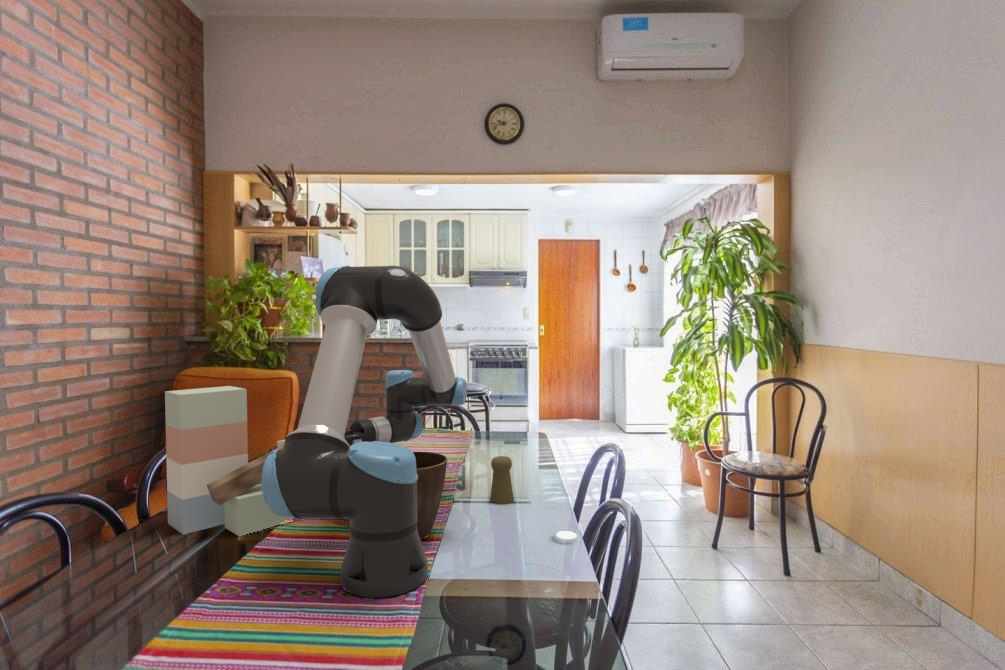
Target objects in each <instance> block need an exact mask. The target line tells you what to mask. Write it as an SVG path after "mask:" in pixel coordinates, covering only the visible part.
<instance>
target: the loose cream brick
mask: <svg viewBox="0 0 1005 670" xmlns="http://www.w3.org/2000/svg"><path fill="white" fill-rule="evenodd" d="M224 511H225V524H224V528H225V529H227V530H228V531H229V532H230V533H231V532H232V533H233V534H234V535H235V536H238V537H240V536H241V537H243V535H244V536H247V535H246V534H248V535H250V534H249V533H252V534H254V533H253V532H255V533H258V532H257V531H259V532H262V531H264V530H263V529H266V528H270V527H273V526H276V525H278V524H280V523H282V522H283V521H285V520H288V519H291V518H293V517H284V516H278V515H275V514H274V513H272V512H271V511H270V510H269V508H268V507H267V505H266V503H265V500H264V496H263V493H262V483H259V484H258V485H256V486H254V487H252V488H250V489H249V490H247V491H245V492H243V493H241V494H240V495H238V496H236V497H234V498H232V499H231V500H229V501H227V502H225V503H224ZM273 528H274V527H273ZM270 529H271V528H270ZM261 530H262V531H261ZM266 530H267V529H266Z"/></svg>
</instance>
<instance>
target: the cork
mask: <svg viewBox="0 0 1005 670" xmlns="http://www.w3.org/2000/svg"><path fill="white" fill-rule="evenodd" d="M490 465H491V466H490V467H491V468H492V470H493V473H492V479H491V480H492V481H491V488H490V496H489V501H490V503H492V504H495V505H507V504H511V503H513V502H514V501H515V499H514V493H513V485H512V477H511V469H512V465H513V462H512V459H511V457H509V456H507V455H506V456H505V455H498V456H495V457H493V458H492V460H491V462H490Z"/></svg>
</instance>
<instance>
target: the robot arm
mask: <svg viewBox="0 0 1005 670" xmlns="http://www.w3.org/2000/svg"><path fill="white" fill-rule="evenodd" d="M314 295H315V299H314V303H315V304H314V305H315V309H316V312H317V314H318V316H319V318H320V321H321V322H322V324H323V325H324V330H323V333H322V337H321V341H320V345H319V347H318V348H319V349H318V352H317V357H316V359H315V363H314V367H313V370H312V374H311V377H310V378H311V379H310V381H309V385H308V389H307V393H306V397H305V400H304V403H303V408H302V411H301V415H300V418H299V422H298V425H297V428H296V429H294V431H292V432H289V433H288V434H287V435H286V438H285V439H282V440H277V441H276V445H277V446H276V448H278V447H280V446H282V445H284V447H283V449H277V450H274V449H273V450H274V451H272V450H271V451H272V452H271V451H270V452H271V453H270V455H268V456H267V458H266V460H265V462H264V465H263V470H262V479H261V483H260V484H262V493H263V496H264V500H265V503H266V505H267V507H268V508H269V510H270V511H271V512H272V513H274V514H275V515H278V516H284V517H293V518H294V520H296V519H297V520H298V519H301V518H302V519H332V520H333V519H335V520H338V519H340V520H349V540H348V543H347V546H346V549H345V553H344V556H343V559H342V563H341V565H340V570H339V578H340V579H339V581H340V582H341V584H340V586H341V585H342V586H343V587H344V588H345V589H346V590H347V591H349V592H350V593H353V594H355V595H354V596H356V595H358V596H357V597H361V596H362V598H371V599H372V598H373V599H374V598H375V599H376V598H378V599H379V598H388V597H394V596H399V595H402V594H405V593H408V592H411V591H413V590H416V589H417V588H419V587H420V586H422V585H423V584H424V582H426V580H428V576H429V562H428V558H427V555H426V552H425V548H424V546H423V543H422V539H421V540H420V537H419V534H418V530H417V480H418V474H417V470H416V458H415V455H414V453H413V452H414V451H412V449H410V448H407V447H406V446H404V445H401V444H397V443H401V442H407V441H411V440H414V439H417V438H419V437H420V436H421V434H422V433H423V429H424V423H423V421H422V417H421V415H420V414H419V413H418V412H416V411H415V408H414V407H415V406H442V407H443V406H444V407H445V406H446V407H454V406H463V405H464V404H465V403H466V401H467V397H468V396H467V395H468V388H467V386H468V385H467V381H466V379H465V378H463V377H458V376H456V374H455V372H454V371H455V370H454V367H453V364H452V361H451V357H450V353H449V349H448V344H447V342H446V338H445V335H444V331H443V328H442V324H441V323H442V322H441V320H442V318H443V310H442V306H441V303H440V301H439V298H438V296H437V295H436V293H435V291H434V290H433V289H432V287H431V286H430V285H429V283H427V281H425V280H424V278H422V277H421V276H420V275H418V274H417V273H415V272H414V271H412V270H410V269H408V268H405V267H404V266H403V267H402V266H400V265H376V266H374V265H372V266H370V265H369V266H350V265H342V266H339V267H331V268H328V269H326V270H325V271H324V272H323V273H322V274H321V276H320V277H319V279H318V281H317V284H316V287H315V292H314ZM380 320H381V321H382V320H398V321H400V323H401V325H402V327H403V328H404V329H405V330H406V331H408V332H409V335H410V339H411V341H412V344H413V347H414V349H415V353H416V355H417V357H418V358H417V359H418V360H419V363H420V366H421V369H422V372H423V375H424V377H420V376H418V377H415V375H414V372H413V371H412V370H410V369H408V370H407V369H398V370H397V369H395V370H389V371H388V372H386V374H385V386H384V390H385V393H384V394H385V395H384V397H385V416H383V415H382V416H377V417H376V416H375V417H371V418H370V417H369V418H365V419H357V420H354V421H353V422H352V423H351V425H350V427H349V429H348V428H347V425H348V422H349V421H348V420H349V417H350V412H351V408H352V403H353V399H354V394H355V389H356V385H357V380H358V376H359V372H360V367H361V363H362V358H363V354H364V349H365V345H366V340H367V337H368V336H369V335H371V334H373V333H374V332H375V331H376V329H377V325H378V324H377V323H378V321H380ZM340 582H339V583H340ZM350 593H349V594H350ZM353 594H352V595H353Z"/></svg>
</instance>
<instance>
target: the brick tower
mask: <svg viewBox="0 0 1005 670" xmlns="http://www.w3.org/2000/svg"><path fill="white" fill-rule="evenodd" d="M247 392H248V391H247V388H243V387H239V386H238V387H237V386H234V385H233V386H232V385H225V386H213V387H200V388H187V389H177V390H168V391H167V390H166V391H164V402H165V406H164V408H165V449H166V451H165V452H166V453H165V455H166V491H167V492H166V493H167V495H166V496H167V498H166V499H167V524H168V525H169V526H170V527H172V528H173V529H175V530H176V531H177V532H179V533H180V534H182V535H187V534H190V533H195V532H198V531H203V530H206V529H210V528H215V527H218V526H222V525H225V511H224V504H222V505H219V504H217V503H215V502H214V501H213V500H212V497H211V495H210V493H209V490H208V488H207V484H209V483H211V482H213V481H215V480H217V479H219V478H221V477H223V476H225V475H227V474H228V473H230V472H232V471H234V470H236V469H238V468H240V467H242V466H244V465H246V464H248V463H249V449H248V447H249V445H248V436H249V435H248V397H247V396H248V393H247Z"/></svg>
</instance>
